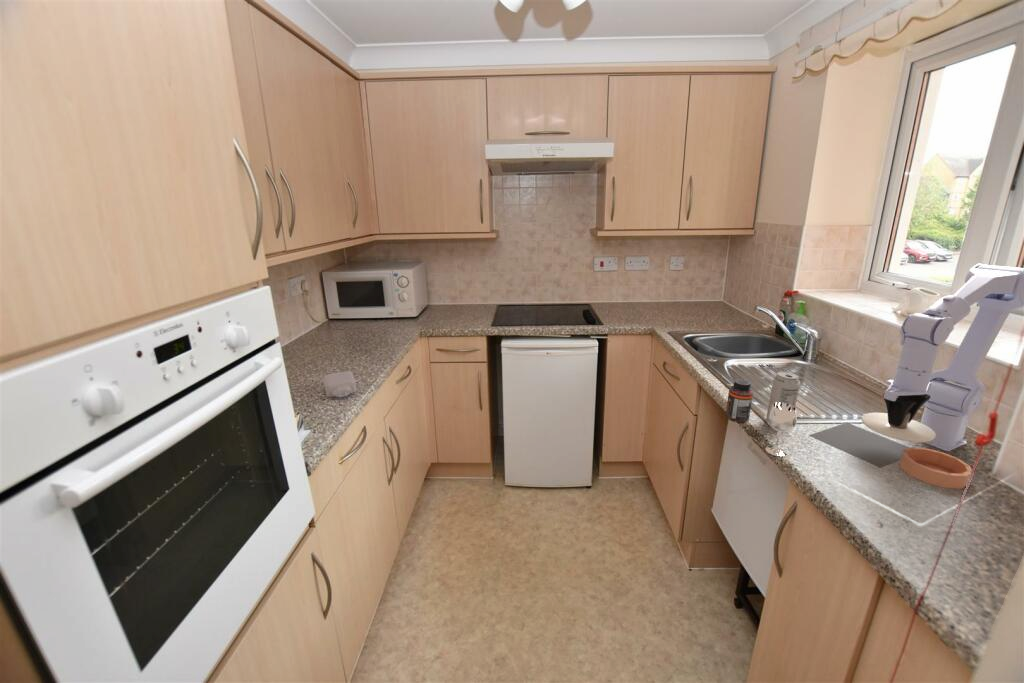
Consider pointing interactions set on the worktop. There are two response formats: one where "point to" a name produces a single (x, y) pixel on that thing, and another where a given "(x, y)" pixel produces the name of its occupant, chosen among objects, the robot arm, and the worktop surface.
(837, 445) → the mat
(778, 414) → the wineglass
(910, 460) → the bowl
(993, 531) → the worktop surface
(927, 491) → the worktop surface
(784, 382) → the energy drink can
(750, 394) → the supplement bottle
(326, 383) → the charger
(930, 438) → the lid
